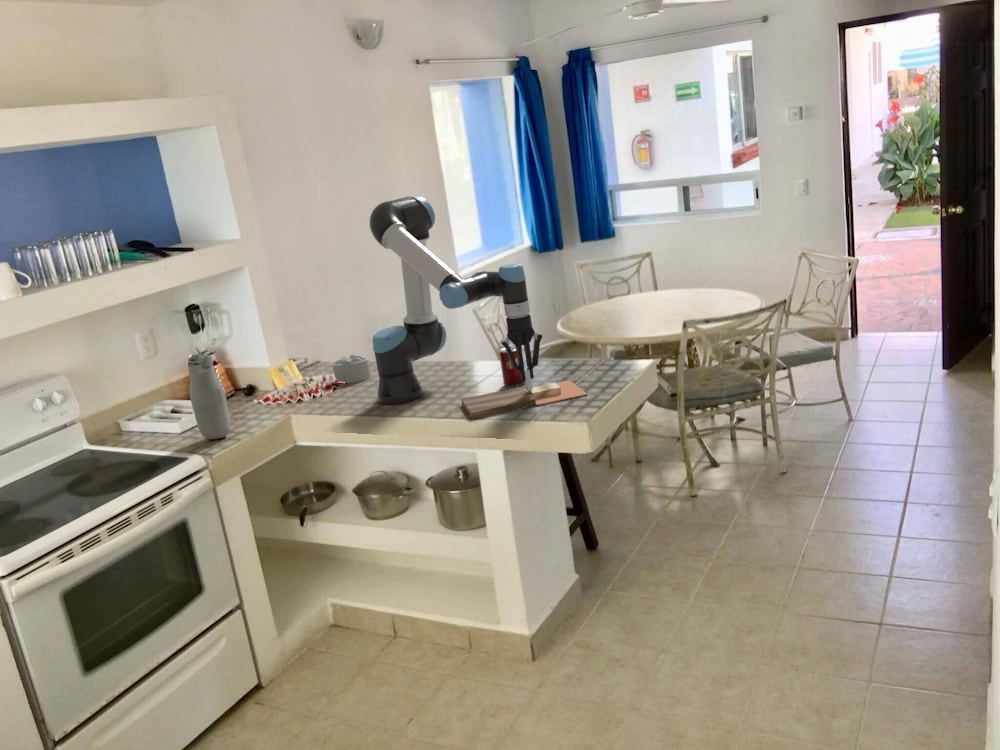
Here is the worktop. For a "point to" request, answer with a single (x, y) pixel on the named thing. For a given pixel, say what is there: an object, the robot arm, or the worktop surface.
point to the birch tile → (545, 390)
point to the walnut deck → (498, 402)
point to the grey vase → (208, 398)
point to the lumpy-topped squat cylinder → (352, 369)
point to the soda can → (510, 369)
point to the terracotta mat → (562, 393)
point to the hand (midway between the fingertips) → (529, 389)
